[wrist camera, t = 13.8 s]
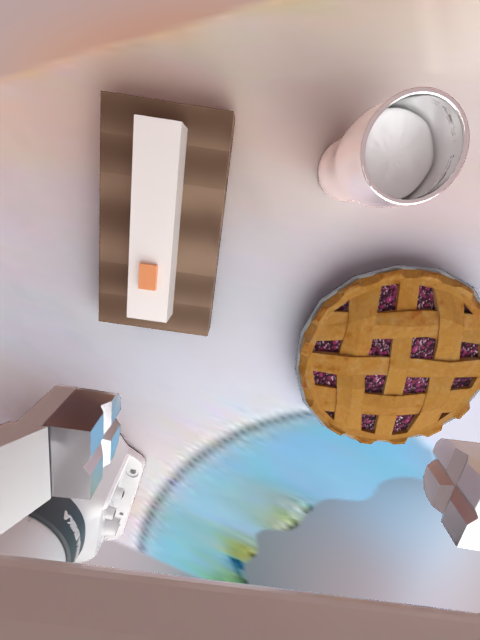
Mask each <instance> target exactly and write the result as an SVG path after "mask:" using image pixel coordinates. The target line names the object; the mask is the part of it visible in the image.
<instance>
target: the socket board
mask: <svg viewBox="0 0 480 640" xmlns="http://www.w3.org/2000/svg"><path fill="white" fill-rule="evenodd" d="M134 114H136V115H143V116H149V117H155V118H162V119H168V120H175V121H181V122H183V124H184V125H185V126H186V127H187V128H188V132H187V144H186V156H185V169H184V181H183V193H182V205H181V217H180V230H179V242H178V254H177V266H176V278H175V291H174V303H173V314H172V315H171V317H170V318H169V320H168V321H167V323H164V322H157V321H149V320H142V319H135V318H128V317H127V293H128V265H129V238H130V210H131V183H132V155H133V128H134ZM234 124H235V115H234V111H228V110H221V109H215V108H209V107H202V106H196V105H190V104H183V103H177V102H170V101H164V100H158V99H151V98H145V97H138V96H132V95H126V94H119V93H113V92H106V91H101V127H100V240H99V321H102V322H109V323H116V324H124V325H131V326H138V327H145V328H152V329H159V330H166V331H174V332H181V333H188V334H195V335H202V336H207V335H208V332H209V329H210V323H211V314H212V306H213V298H214V290H215V281H216V273H217V265H218V257H219V248H220V240H221V232H222V224H223V215H224V207H225V199H226V191H227V182H228V174H229V166H230V157H231V149H232V141H233V133H234Z"/></svg>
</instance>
